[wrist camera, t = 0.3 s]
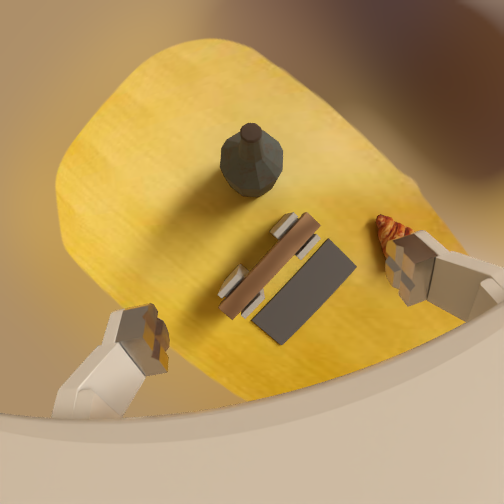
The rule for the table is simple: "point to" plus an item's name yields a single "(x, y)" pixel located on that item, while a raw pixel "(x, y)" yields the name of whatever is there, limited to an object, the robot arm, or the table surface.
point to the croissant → (390, 231)
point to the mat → (305, 292)
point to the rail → (269, 265)
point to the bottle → (251, 161)
